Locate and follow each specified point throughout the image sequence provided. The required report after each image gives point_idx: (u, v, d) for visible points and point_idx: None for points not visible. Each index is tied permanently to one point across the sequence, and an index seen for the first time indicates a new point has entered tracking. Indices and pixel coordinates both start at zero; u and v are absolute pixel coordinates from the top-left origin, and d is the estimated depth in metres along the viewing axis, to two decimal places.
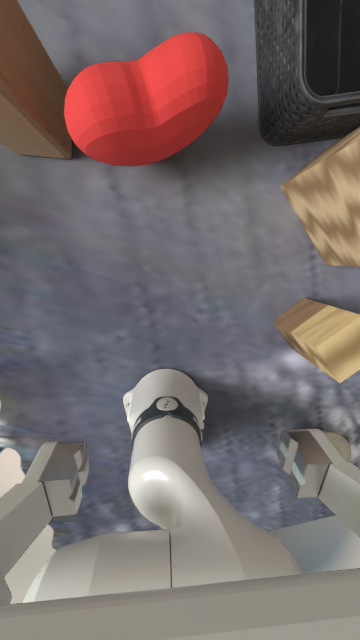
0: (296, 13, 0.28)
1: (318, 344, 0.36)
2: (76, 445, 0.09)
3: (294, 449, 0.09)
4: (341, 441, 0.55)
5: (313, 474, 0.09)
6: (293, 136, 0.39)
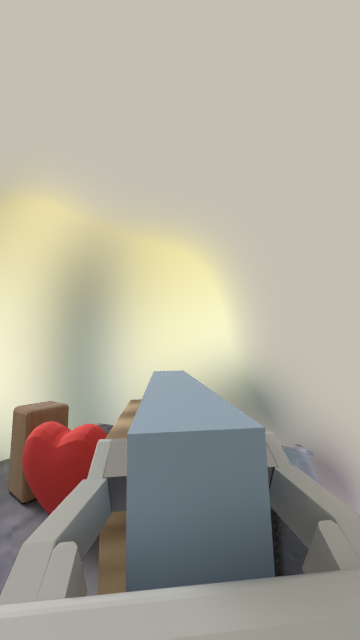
0: None
1: None
2: None
3: None
4: None
5: None
6: None
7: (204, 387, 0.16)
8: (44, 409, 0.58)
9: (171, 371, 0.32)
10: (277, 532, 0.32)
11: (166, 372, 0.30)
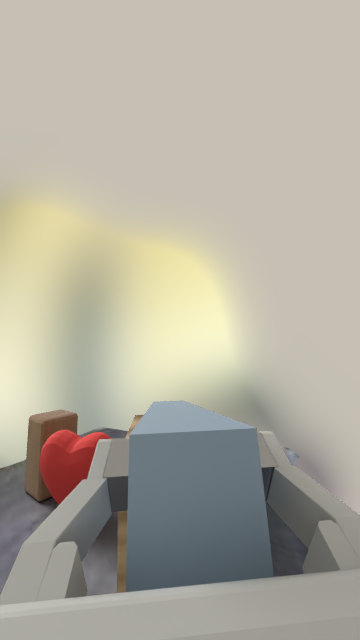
0: None
1: None
2: None
3: None
4: None
5: None
6: None
7: (203, 409, 0.16)
8: (56, 418, 0.66)
9: (171, 401, 0.31)
10: None
11: None
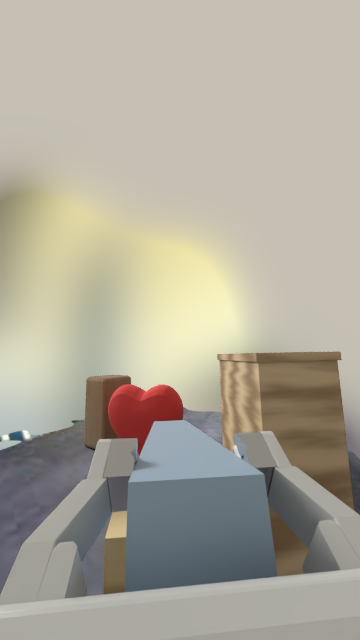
0: None
1: None
2: (131, 442, 0.09)
3: (244, 452, 0.09)
4: None
5: None
6: None
7: (206, 436, 0.15)
8: (114, 378, 0.71)
9: (172, 421, 0.31)
10: None
11: (167, 422, 0.29)
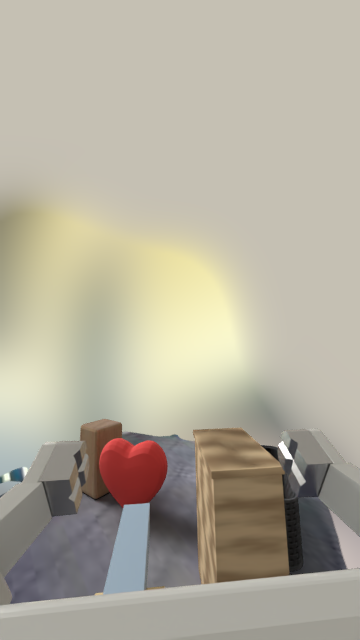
0: None
1: (100, 593, 0.28)
2: (76, 445, 0.09)
3: (294, 449, 0.09)
4: None
5: (313, 474, 0.09)
6: None
7: None
8: (106, 427, 0.76)
9: (138, 507, 0.37)
10: (298, 517, 0.49)
11: (133, 514, 0.35)
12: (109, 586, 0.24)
